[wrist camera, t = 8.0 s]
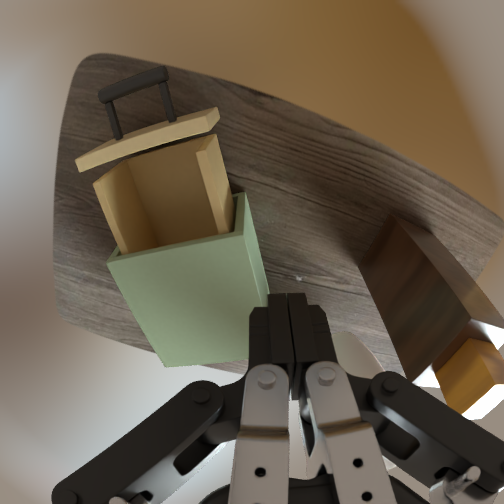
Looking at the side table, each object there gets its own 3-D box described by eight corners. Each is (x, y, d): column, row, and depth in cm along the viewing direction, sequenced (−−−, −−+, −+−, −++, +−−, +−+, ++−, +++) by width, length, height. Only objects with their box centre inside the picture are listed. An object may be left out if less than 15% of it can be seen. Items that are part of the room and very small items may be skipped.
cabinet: (137, 216, 34) (105, 262, 25) (245, 191, 32) (243, 234, 24) (178, 312, 41) (165, 367, 33) (270, 298, 40) (275, 355, 32)
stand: (357, 267, 37) (408, 385, 22) (389, 212, 34) (471, 317, 18) (403, 283, 39) (459, 388, 23) (434, 235, 35) (513, 332, 20)
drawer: (98, 96, 26) (57, 105, 19) (205, 59, 24) (189, 52, 18) (152, 250, 35) (131, 291, 28) (248, 230, 34) (247, 272, 27)
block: (434, 374, 21) (453, 421, 17) (469, 337, 19) (495, 384, 15) (462, 377, 22) (480, 418, 18) (494, 343, 20) (518, 384, 16)
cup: (327, 290, 39) (370, 445, 21) (383, 313, 42) (435, 444, 23) (286, 340, 44) (300, 481, 26) (341, 357, 46) (369, 481, 28)
